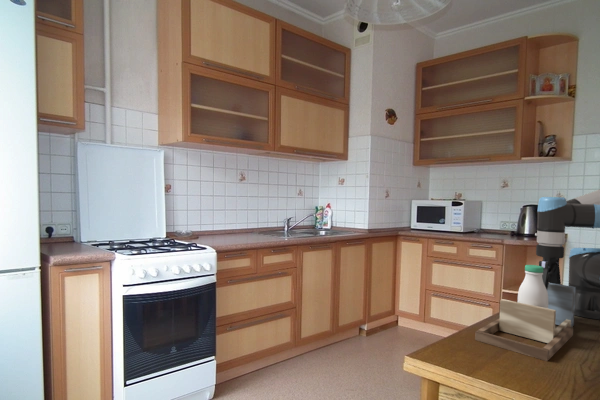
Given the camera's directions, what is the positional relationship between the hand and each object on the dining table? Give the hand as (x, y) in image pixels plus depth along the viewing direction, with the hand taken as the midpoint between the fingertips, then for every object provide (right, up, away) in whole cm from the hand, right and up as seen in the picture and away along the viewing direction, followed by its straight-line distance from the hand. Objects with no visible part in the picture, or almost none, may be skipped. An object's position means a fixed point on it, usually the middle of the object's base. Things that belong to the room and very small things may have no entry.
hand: (547, 310), depth 123 cm
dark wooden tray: (-16, -3, -15) cm, 23 cm away
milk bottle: (-12, -4, -12) cm, 17 cm away
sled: (-7, -3, -7) cm, 11 cm away
